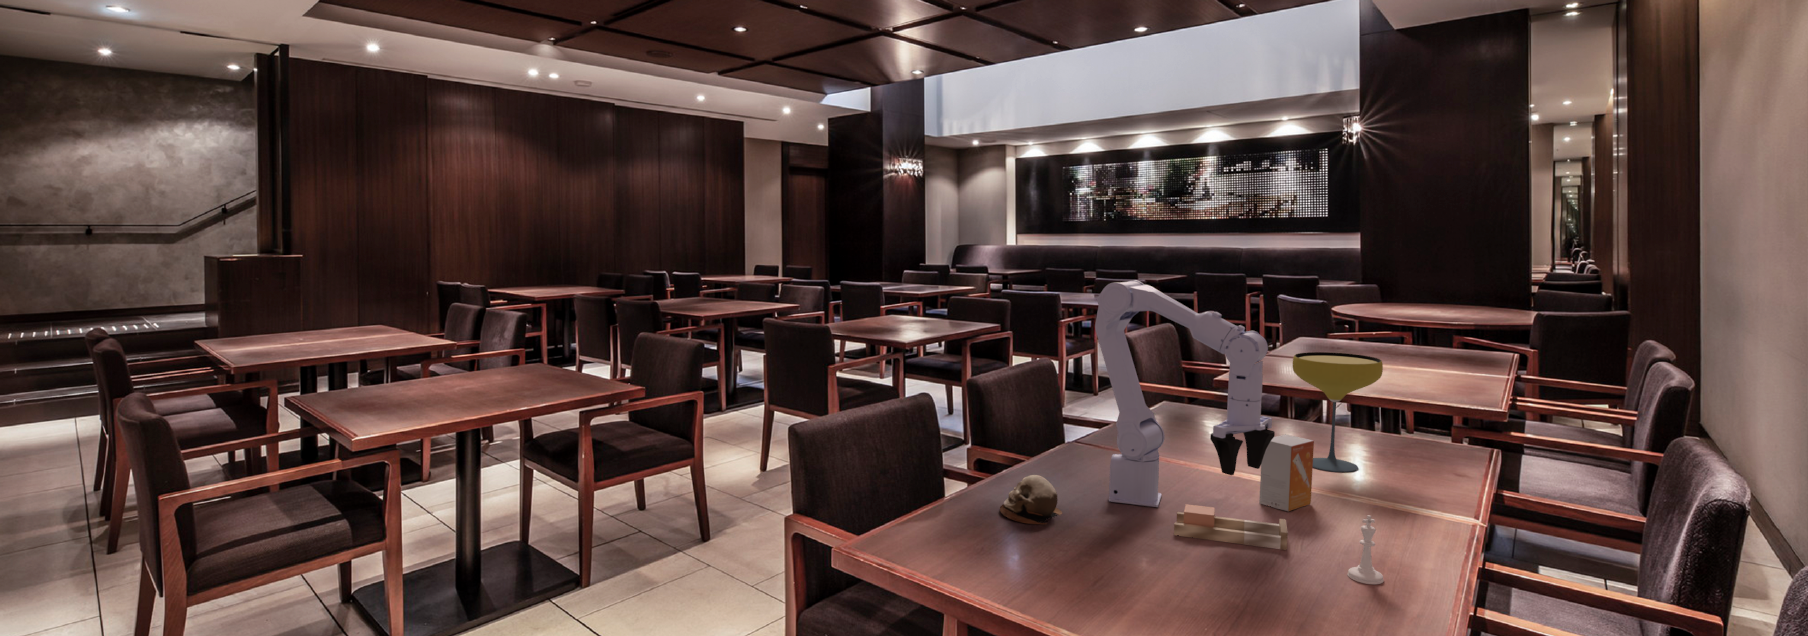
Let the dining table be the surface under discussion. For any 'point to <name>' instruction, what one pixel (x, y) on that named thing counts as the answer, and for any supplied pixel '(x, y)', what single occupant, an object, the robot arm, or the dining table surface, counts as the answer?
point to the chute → (1237, 531)
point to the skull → (1031, 501)
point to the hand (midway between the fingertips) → (1240, 470)
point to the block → (1199, 515)
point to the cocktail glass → (1336, 387)
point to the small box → (1287, 473)
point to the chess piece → (1366, 558)
